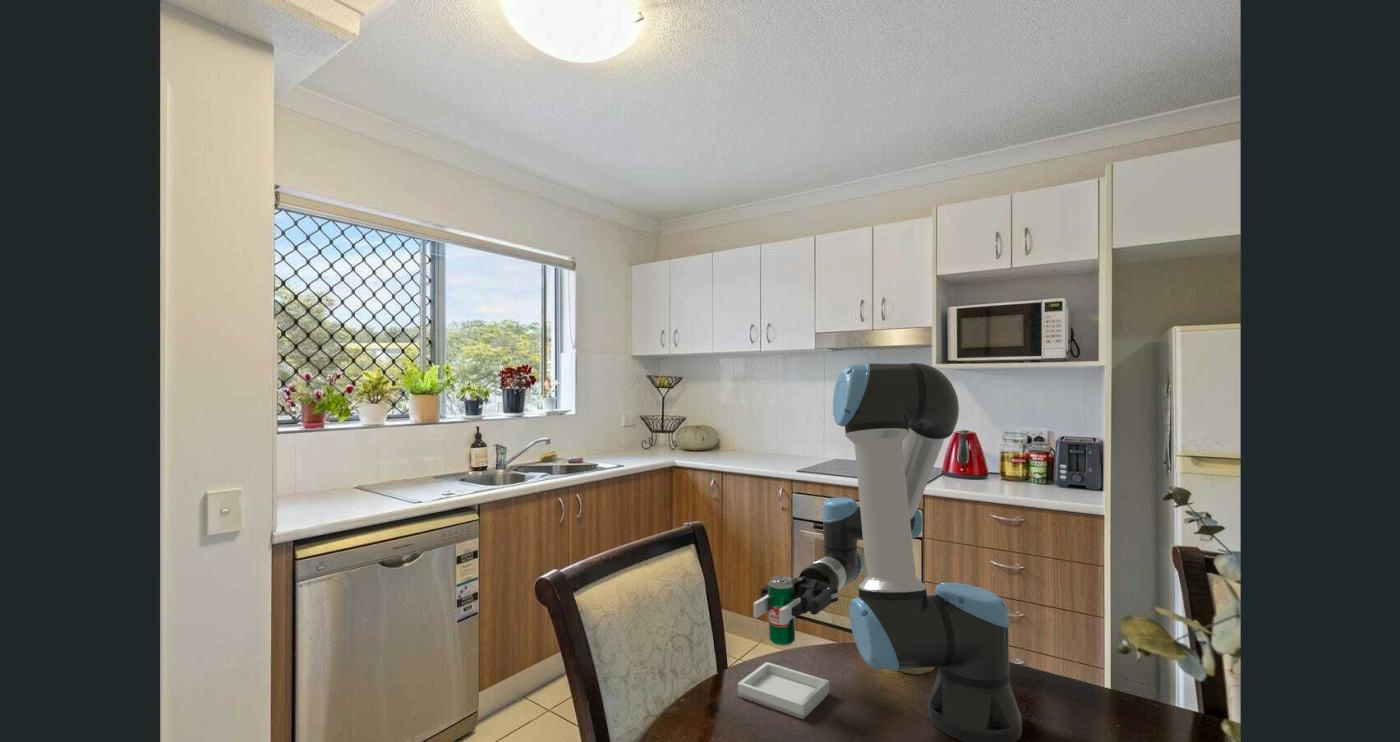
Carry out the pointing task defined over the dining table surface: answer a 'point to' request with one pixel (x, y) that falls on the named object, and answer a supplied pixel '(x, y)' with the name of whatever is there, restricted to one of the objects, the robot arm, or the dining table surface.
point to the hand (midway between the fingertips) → (768, 613)
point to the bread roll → (917, 670)
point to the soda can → (778, 598)
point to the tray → (784, 689)
